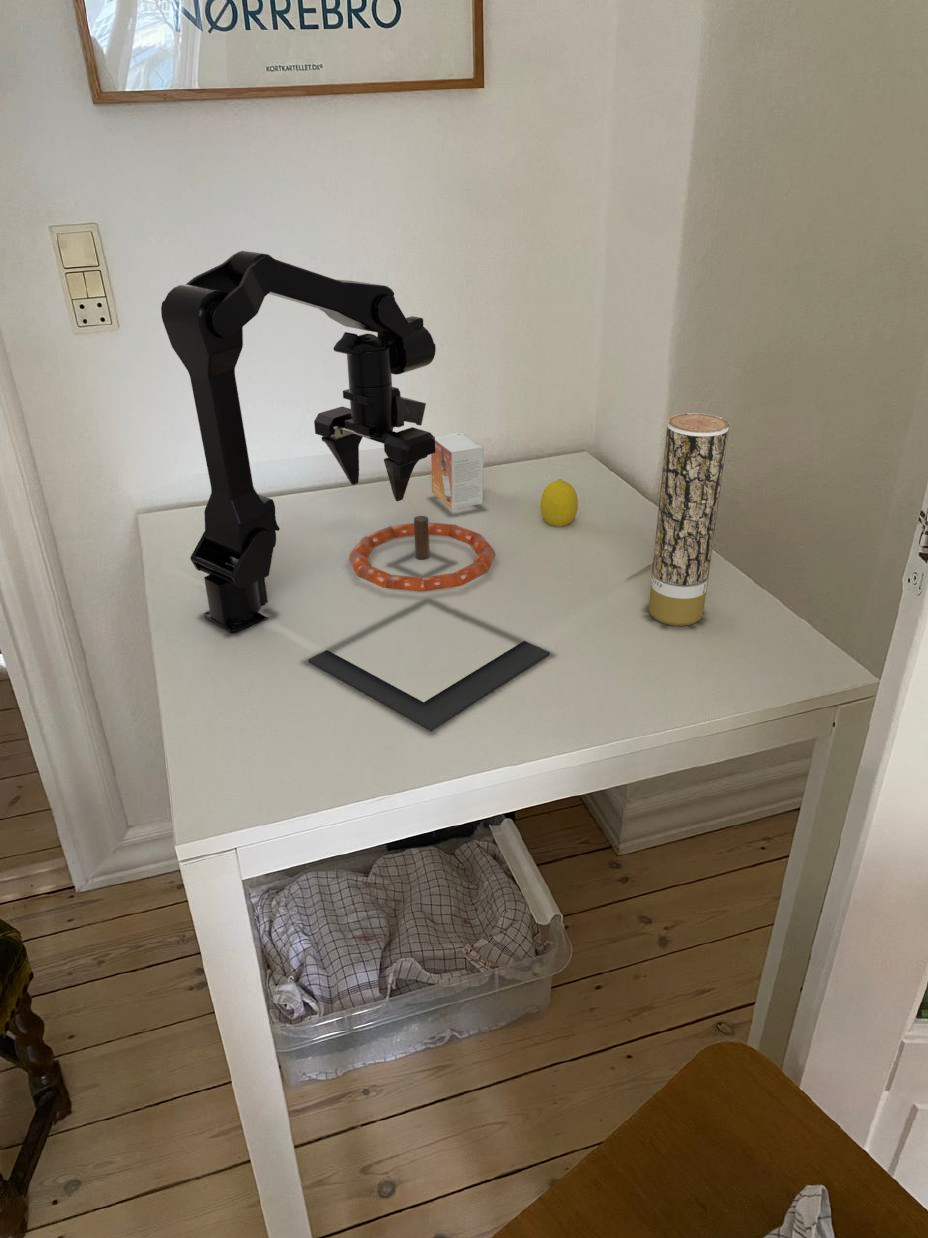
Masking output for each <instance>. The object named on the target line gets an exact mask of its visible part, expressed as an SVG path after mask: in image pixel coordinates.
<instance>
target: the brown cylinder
mask: <svg viewBox="0 0 928 1238" xmlns="http://www.w3.org/2000/svg"><path fill="white" fill-rule="evenodd" d="M428 522H429V517H428V516H427V515H426V516H425V515H417V516H415V517H413V523H414V535H413V536H414V537H413V538H414V558H415V559H416V560H418V561H426V560H429V559H430V557H431V556H430V534H429V524H428Z"/></svg>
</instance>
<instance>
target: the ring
mask: <svg viewBox="0 0 928 1238" xmlns="http://www.w3.org/2000/svg"><path fill="white" fill-rule="evenodd" d="M428 524H429V535H431V536H445V537H450V538H453V539H455V540H458V541H461V542H462V543H465V544H468V545H469V546H470V547H471V548H472V550H473V551H474V553H475V554H476V556H475V559H474V561H473V563H470V564H468V565H466V566H465V567H462V568H461V569H459V570H457V571H455V572H451V573H450V572H449V573H445V574H437V575H430V576H424V577H420V576H409V575H398V574H390V573H389V572H387V571H384V570H381V569H379V568H377V567H374V566H373V565H371V562H370V560H369V558H368V557H369V556H370V555H371V554H372V552H373V551H374V549H375V547H378V546H380V545H381V544H384V543H386V542H389V541H391V540H394V539H396V538H402V537H408V536H409V537H410V536H414V522H410V523H402V524H394V525H389V526H386V527H384V528H382V529H379V530H376V531H375V532H372V533H370V534H367V535H365V536H362V538H361V539H360V540H359V542H358V543H357V544H356V545H355V547H354V548H353V550H352V551H351V552H350V554H349V555H348V560H349V562H350V564H351V566H352V569H353V571H354V573H355V575H356V576H357V577H359V578H361V579H363V580H364V581H365V580H366V581H368V582H370V583H372V584H374V585H376V586H379V587H381V588H383V589H392V590H393V589H394V590H400V591H401V590H402V591H411V592H430V591H436V590H442V589H449V588H455V587H461V586H464V585H465V584H467V583H469V582H471V581H473V580H476V579H478V578H479V577H481V576H483V575H485V574H488V573H489V571H490V569H491V567H492V564H493V562H494V560H495V557H496V551H495V549H494V548H493V547H492V546H491V544H490V543H489V542H488V541H487V540H486V539H485V537H484V536H483V535H482V534H481V533H479V532H476V531H474V530H471V529H468V528H465V527H462V526H460V525H458V524H452V523H441V522H430V521H428Z"/></svg>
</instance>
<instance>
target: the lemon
mask: <svg viewBox="0 0 928 1238" xmlns="http://www.w3.org/2000/svg"><path fill="white" fill-rule="evenodd" d="M539 507H540V512H541V516H542V518H543V520H544V521H545V522H546V523H547V524H548V525H550V526H552V527H558V528H560V527H561V528H562V527H566V526H568V525H570V524H571V523H572V522H573V521H574V519H575V518H576V516H577V513H578V509H579V508H578V507H579V502H578V494H577V492H576V489H575V487H574V486H573V485H572V484H570V482H568V481H565V480H563V479H562V478H558V479H557V480H555V481H552V482H550V483H549V484H548V485H547V486H546V487H545V488H544V490H543V492H542V494H541V498H540V506H539Z"/></svg>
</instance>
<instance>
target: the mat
mask: <svg viewBox="0 0 928 1238" xmlns="http://www.w3.org/2000/svg"><path fill="white" fill-rule="evenodd" d="M549 656H550V651H548V650H546V649H543V648H542V647H539V646H537V645H534V644H533V643H530V642H528V641H526V640H523V641H521V642H520V643H518V644H517V645H515V646H513V647H511V648H510V649H508V650H507V651H504V652H503V653H502V654H500V655H498V656H497V657H495V658H493V659H492V660H490V661H489V662H487V663H485V664H484V665H482V666H480V667H479V668H477V669H475V670H474V671H472V672H470V673H469V674H467V675H466V676H464V677H462V678H461V679H459V680H458V681H456V682H454V683H452V684H450V685H449V686H447V687H446V688H445V689H443V690H441V691H439V692H438V693H436V694H435V695H433V696H431V697H430V698H428V699H426V700H425V701H422V700H421V699H419V698H418V697H415V696H414V695H411V694H410V693H407V692H406V691H404V690H402V689H400V688H398V687H397V686H395V685H393V684H391V683H390V682H387V681H385V680H384V679H382V678H381V677H378V676H376V675H374V674H373V673H371V672H369V671H367V670H365V669H364V668H361V667H360V666H358V665H355V664H354V663H353V662H350V661H348V660H347V659H344V658H343V657H341V656H339V655H337V654H336V653H334V652H332V651H330V650H328V649H326V650H324V651H322V652H320V653H318V654H316V655H314V656H312V657H310V658H309V659H308V661H307V662H308V663H309V664H311V665H313V666H314V667H316V668H318V669H320V670H321V671H323V672H325V673H327V674H328V675H330V676H332V677H334V678H336V679H337V680H339V681H341V682H342V683H345V684H346V685H348V686H350V687H351V688H353V689H355V690H357V691H358V692H361V693H363V694H364V695H366V696H367V697H369V698H371V699H373V700H374V701H377V702H378V703H380V704H381V705H383V706H385V707H387V708H389V709H390V710H393V711H394V712H396V713H398V714H399V715H401V716H403V717H405V718H407V719H408V720H410V721H412V722H413V723H416V724H417V725H419V726H420V727H423V728H425V729H426V730H427V731H430V732H433V731H434V730H435V729H437V728H439V727H440V726H442V725H443V724H444V723H446V722H448V721H450V720H451V719H453V718H454V717H455V716H457V715H459V714H460V713H462V712H463V711H465V710H466V709H467V708H470V707H471V706H473V705H474V704H476V703H477V702H479V701H480V700H482V699H484V698H485V697H487V696H488V695H490V694H491V693H493V692H494V691H496V690H497V689H499V688H500V687H502V686H504V685H505V684H506V683H508V682H510V681H512V680H513V679H514V678H516V677H518V676H519V675H521V674H522V673H524V672H526V671H527V670H528V669H530V668H531V667H533V666H535V665H536V664H538V663H539V662H541V661H543V660H544V659H546V658H547V657H549Z"/></svg>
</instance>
